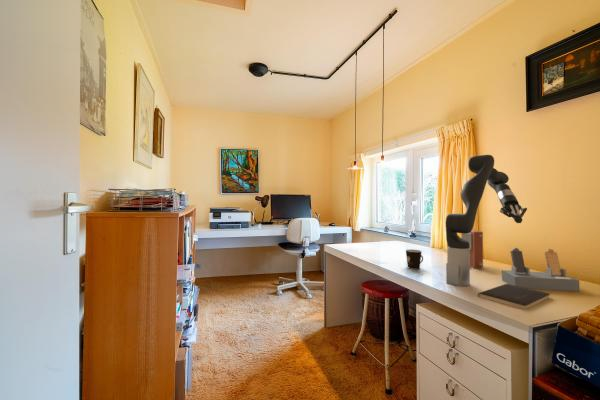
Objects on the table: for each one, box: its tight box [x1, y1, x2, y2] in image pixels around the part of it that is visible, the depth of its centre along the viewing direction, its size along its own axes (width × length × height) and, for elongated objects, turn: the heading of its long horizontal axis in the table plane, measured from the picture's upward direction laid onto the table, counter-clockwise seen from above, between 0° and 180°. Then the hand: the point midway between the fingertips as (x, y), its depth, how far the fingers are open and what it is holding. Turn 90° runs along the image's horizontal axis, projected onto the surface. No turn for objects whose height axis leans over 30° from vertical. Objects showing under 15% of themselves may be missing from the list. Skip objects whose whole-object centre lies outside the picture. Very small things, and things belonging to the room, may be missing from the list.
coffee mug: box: [405, 249, 424, 270], centre depth 159 cm, size 12×9×10 cm
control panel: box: [460, 229, 484, 269], centre depth 164 cm, size 21×7×15 cm
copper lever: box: [544, 248, 562, 275], centre depth 126 cm, size 4×3×12 cm, turn 77°
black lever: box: [509, 247, 526, 273], centre depth 130 cm, size 4×3×12 cm, turn 76°
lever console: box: [501, 265, 580, 292], centre depth 126 cm, size 24×12×8 cm, turn 77°
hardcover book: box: [477, 283, 551, 310], centre depth 111 cm, size 16×23×2 cm
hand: (519, 222), depth 144 cm, fingers closed
